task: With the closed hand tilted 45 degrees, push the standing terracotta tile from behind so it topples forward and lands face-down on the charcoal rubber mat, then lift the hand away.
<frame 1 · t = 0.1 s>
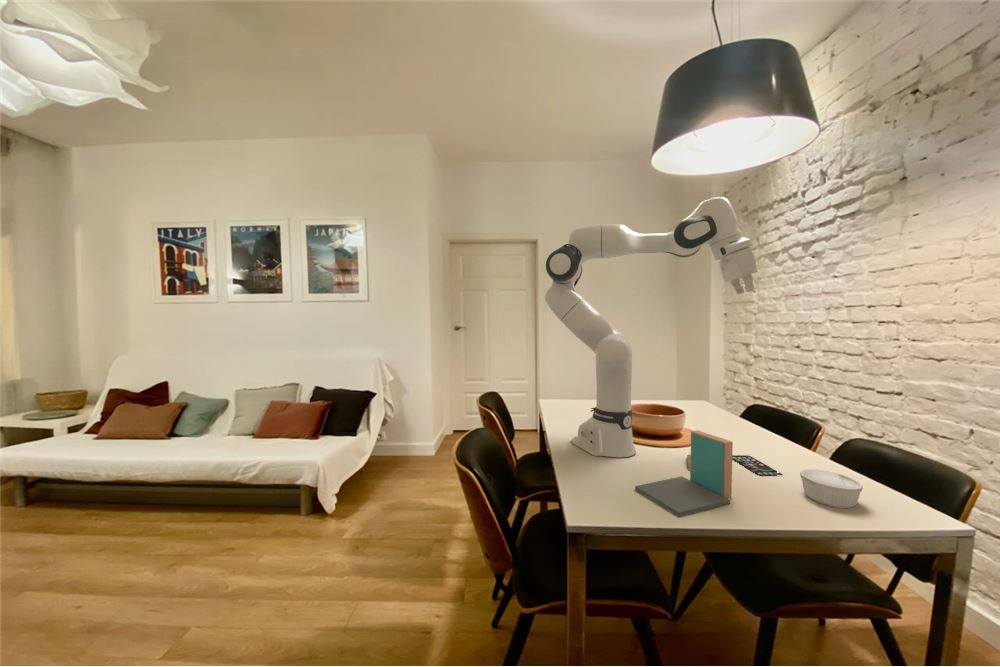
hand: (745, 292, 110), 52 cm above the table, tool tilted 20°, fingers open, 8 cm apart
mat: (680, 496, 92), on the table
tile: (709, 489, 95), on the table
clay tablet: (705, 469, 110), on the table
ramekin: (829, 500, 90), on the table
smartphone: (753, 467, 111), on the table
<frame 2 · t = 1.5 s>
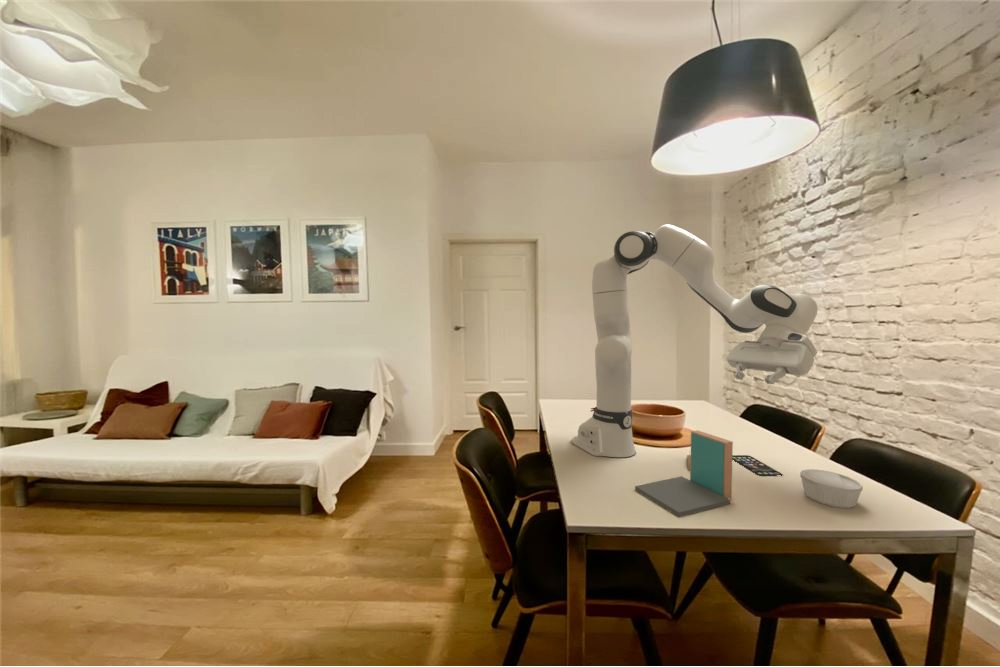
hand: (752, 380, 99), 28 cm above the table, tool tilted 45°, fingers open, 7 cm apart
nothing on the table moved.
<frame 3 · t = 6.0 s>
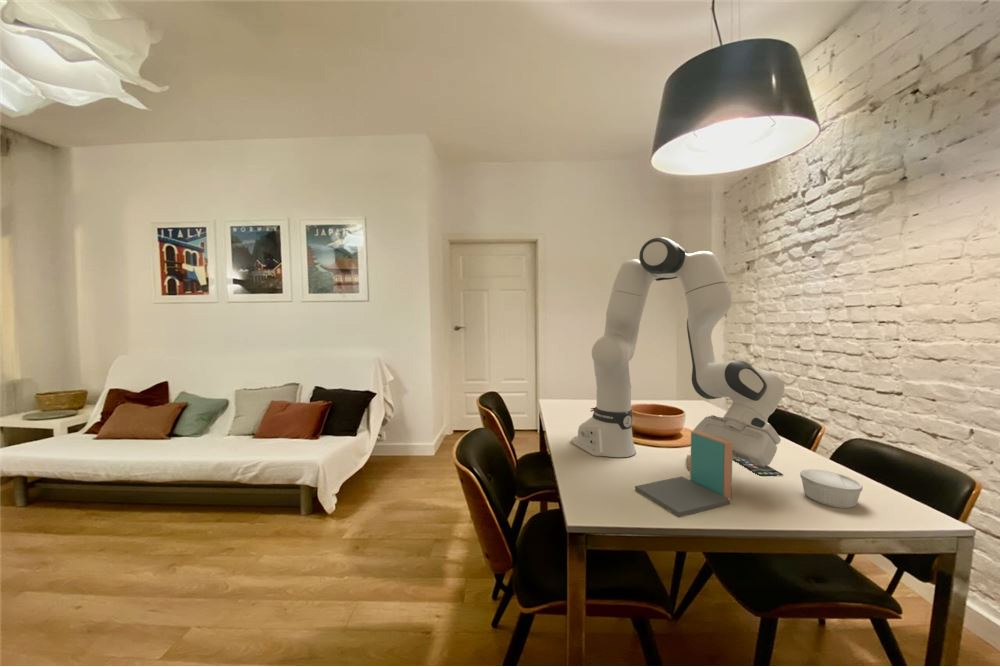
hand: (715, 464, 96), 6 cm above the table, tool tilted 45°, fingers closed, pressing on tile
tile: (709, 489, 95), on the table, touching gripper
everything else where it was.
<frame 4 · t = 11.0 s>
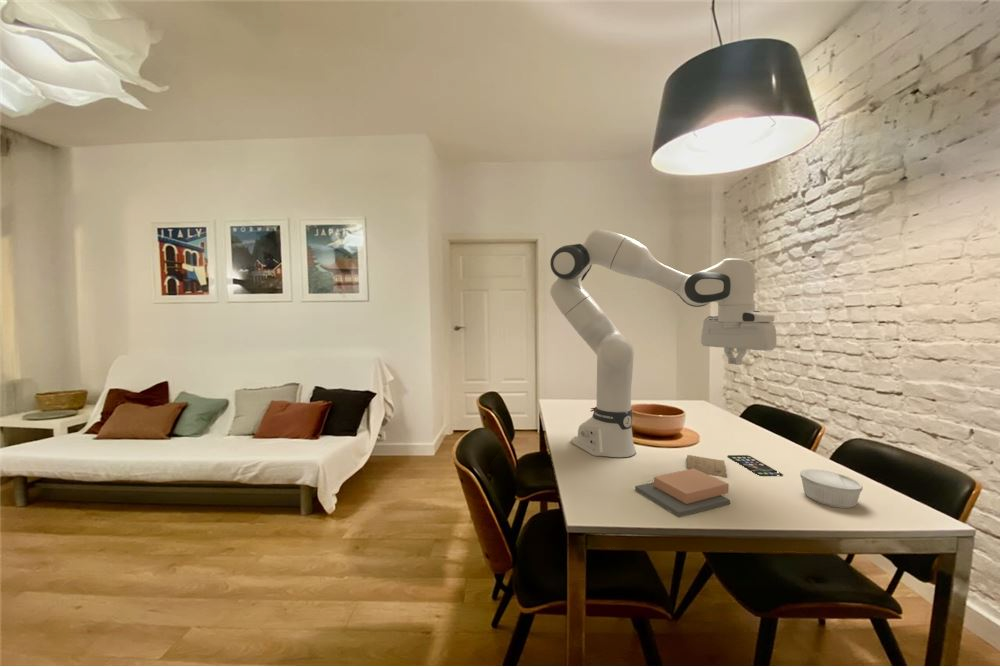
hand: (734, 364, 105), 31 cm above the table, tool pointing down, fingers closed
tile: (710, 480, 95), point 2 cm above the table, tilted 90°, touching mat
everything else where it was.
at the end: tile tilted 90°; tile touching mat; tile inside the target area on the mat (4.1 cm from its centre), point 2.4 cm above the mat's base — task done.
